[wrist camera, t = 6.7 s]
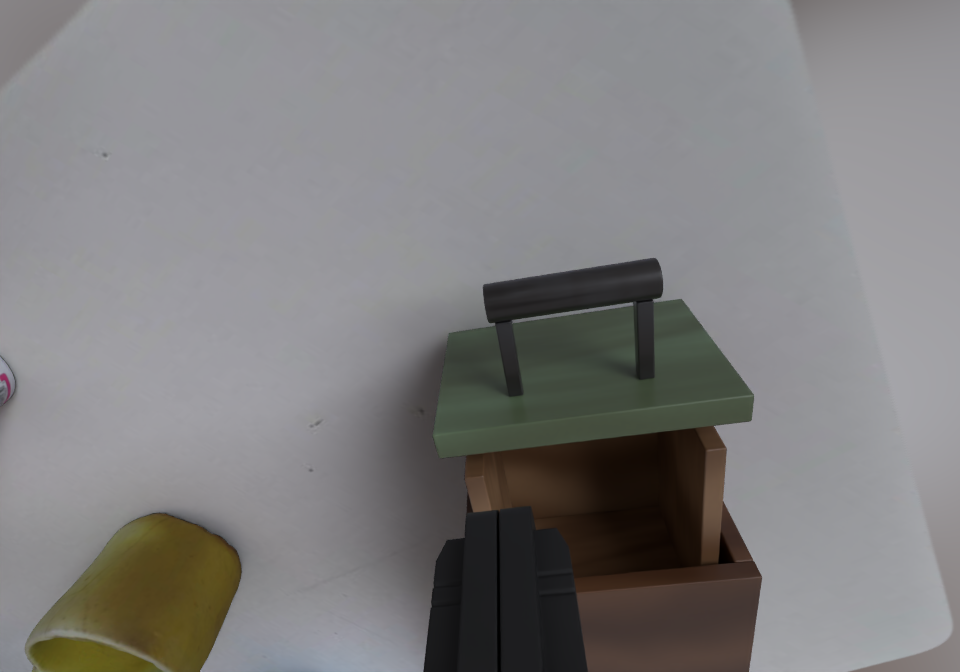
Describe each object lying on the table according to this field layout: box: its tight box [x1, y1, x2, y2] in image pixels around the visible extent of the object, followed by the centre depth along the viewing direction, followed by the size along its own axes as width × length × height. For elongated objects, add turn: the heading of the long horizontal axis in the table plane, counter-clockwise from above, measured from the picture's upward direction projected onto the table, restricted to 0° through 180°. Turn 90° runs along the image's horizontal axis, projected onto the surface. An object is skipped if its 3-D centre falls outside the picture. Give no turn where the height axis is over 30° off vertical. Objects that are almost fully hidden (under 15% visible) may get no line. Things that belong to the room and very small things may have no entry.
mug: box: [25, 513, 242, 672], centre depth 32 cm, size 12×10×10 cm
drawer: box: [432, 258, 754, 577], centre depth 24 cm, size 18×11×8 cm, turn 10°
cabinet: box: [466, 493, 762, 672], centre depth 29 cm, size 15×13×10 cm
